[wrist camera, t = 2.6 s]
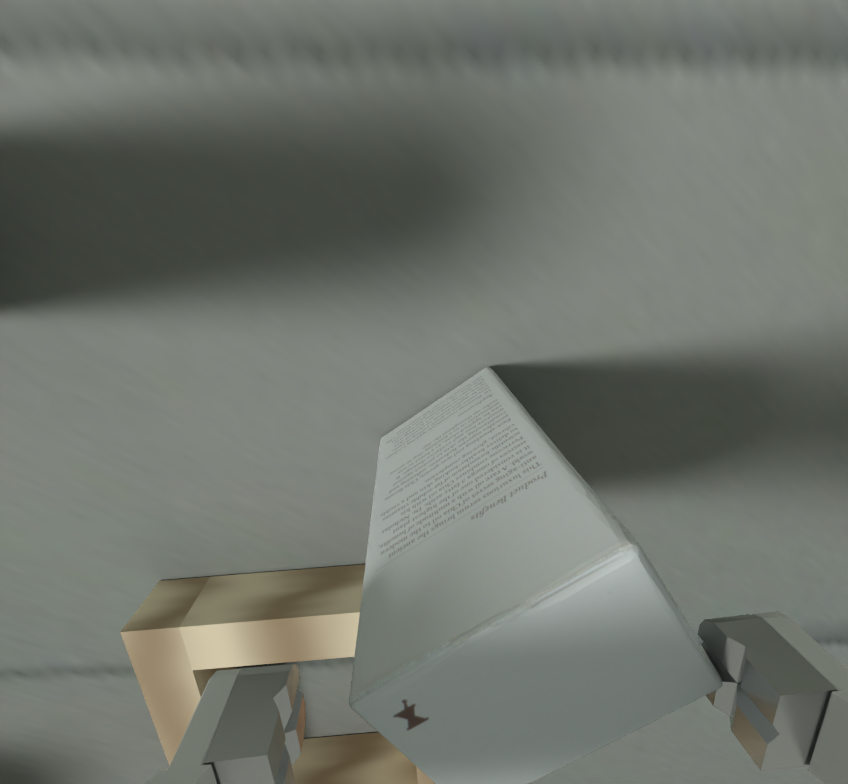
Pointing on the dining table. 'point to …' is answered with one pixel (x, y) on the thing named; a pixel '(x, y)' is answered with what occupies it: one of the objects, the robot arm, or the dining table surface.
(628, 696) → the skincare box
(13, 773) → the dining table surface
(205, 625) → the frame
